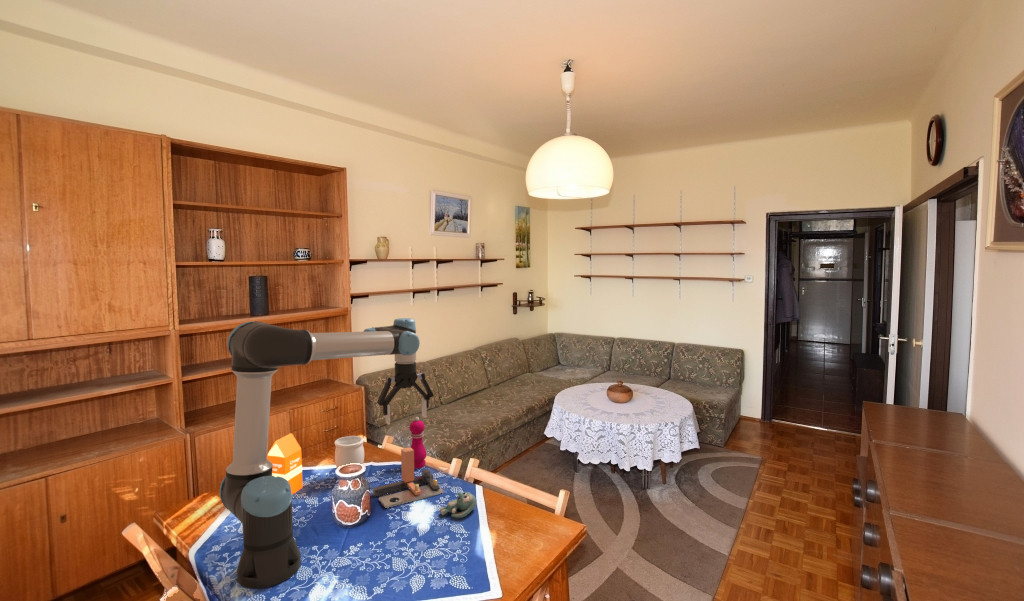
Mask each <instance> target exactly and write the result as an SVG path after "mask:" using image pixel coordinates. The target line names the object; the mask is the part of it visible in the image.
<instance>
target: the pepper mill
mask: <svg viewBox="0 0 1024 601" xmlns="http://www.w3.org/2000/svg"><path fill="white" fill-rule="evenodd" d="M425 427H426V426H425V422H423V421H422V420H420V418H419V416H416V417H414V420H413V421H412V422H410V424H409V431H410V438H411V445H410V447H411V448H412V449H413V450H414V470H415V469H416V470H417V468H419V469H422V468H423V469H424V467H425V466H426V458H427V450H426V447H425V445H424V442H423V437H424V436H425V435H424V431H425Z"/></svg>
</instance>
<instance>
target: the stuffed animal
mask: <svg viewBox="0 0 1024 601" xmlns="http://www.w3.org/2000/svg"><path fill="white" fill-rule="evenodd" d="M476 505H477V499H476V496H475V495H474V494H472V493H471V492H470V491H466V492H462V491H458V492H457V497H456V499H453V500H451V501H448V502H447V504H446V506H442V507H440V508H439V511H440V513H441V515H442V516H444V515H446V514H448V513H451V515H450V518H455V519H462V518H465V517H467V516H468V515H470V513H471V512H472V511H473V510H474V509H475V508H476ZM457 510H460V512H457Z"/></svg>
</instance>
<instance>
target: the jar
mask: <svg viewBox="0 0 1024 601" xmlns="http://www.w3.org/2000/svg"><path fill="white" fill-rule="evenodd" d="M364 442H365V438H364V437H363V436H360V435H359V436H358V435H349V436H348V435H347V436H343V437H339V438H337V439H336V440H335V441H334V446H335V452H334V462H335V467H336V469H337V468H338V467H339V466H342V465H346V464H350V463H360V464H363V465H364V461H365V448H364Z"/></svg>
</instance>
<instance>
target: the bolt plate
mask: <svg viewBox="0 0 1024 601" xmlns="http://www.w3.org/2000/svg"><path fill="white" fill-rule="evenodd" d="M419 489H420V490H421V494H419V495H415V494H414V493H413V492H412V491H411V490H410V489H405V490H401V491H397V492H393V493H389V494H386V495H382V496H378V502H381V503H380V504H381V506H382V507H383V506H384V507H385V508H387V509H390V508H389V507H391V508H394V507H393V506H395V507H398V506H401V505H400V504H402V505H405V504H404V503H406V504H409V503H412V501H413V502H417V501H419V500H423V499H427V498H430V497H434V496H438V495H442V494H444V489H443V488H441V486H440V485H439V488H438V489H435V490H434V489H433V488H432V487H431V486H430V485H429V484H424V485H420V486H419ZM441 493H442V494H441ZM408 502H409V503H408ZM397 505H398V506H397ZM384 507H383V508H384ZM385 508H384V509H385Z"/></svg>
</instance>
